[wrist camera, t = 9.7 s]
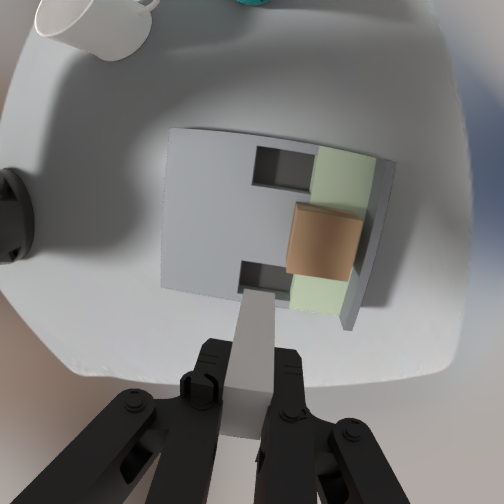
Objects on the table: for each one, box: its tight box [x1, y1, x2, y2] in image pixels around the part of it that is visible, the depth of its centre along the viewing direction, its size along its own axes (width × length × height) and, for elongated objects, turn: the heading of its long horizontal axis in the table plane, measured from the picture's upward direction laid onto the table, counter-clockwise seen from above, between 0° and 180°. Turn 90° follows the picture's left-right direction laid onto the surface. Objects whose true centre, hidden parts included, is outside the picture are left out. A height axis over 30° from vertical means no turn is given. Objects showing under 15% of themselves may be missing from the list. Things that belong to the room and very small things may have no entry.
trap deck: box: [161, 128, 396, 331], centre depth 30 cm, size 22×18×5 cm
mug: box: [35, 0, 160, 61], centre depth 20 cm, size 12×8×12 cm
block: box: [286, 202, 363, 282], centre depth 29 cm, size 6×6×4 cm
